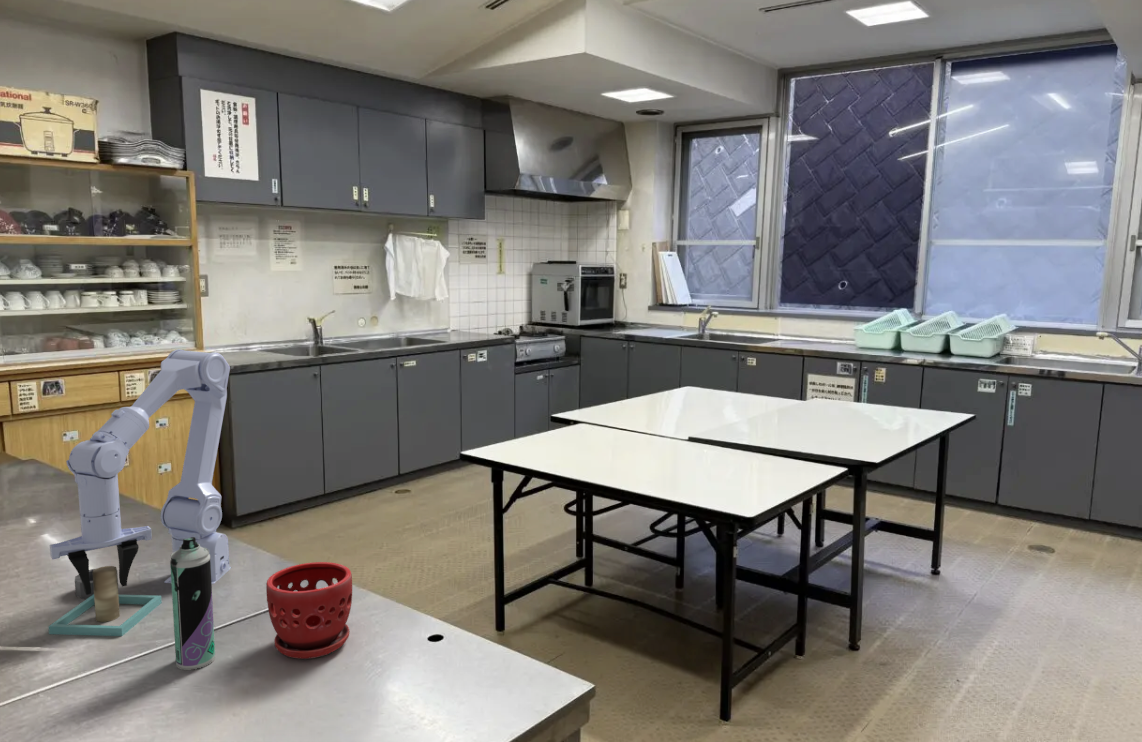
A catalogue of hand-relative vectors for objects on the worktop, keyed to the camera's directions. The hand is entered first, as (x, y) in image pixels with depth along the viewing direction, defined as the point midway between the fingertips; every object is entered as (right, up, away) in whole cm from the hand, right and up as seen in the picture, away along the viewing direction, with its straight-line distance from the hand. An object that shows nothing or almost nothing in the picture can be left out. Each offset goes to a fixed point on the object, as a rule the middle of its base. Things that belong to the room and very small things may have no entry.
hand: (105, 588), depth 130 cm
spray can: (+21, -8, -11) cm, 25 cm away
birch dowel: (0, -5, +1) cm, 5 cm away
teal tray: (0, -6, +1) cm, 6 cm away
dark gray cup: (-8, -4, +11) cm, 14 cm away
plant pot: (+37, -8, -5) cm, 38 cm away
